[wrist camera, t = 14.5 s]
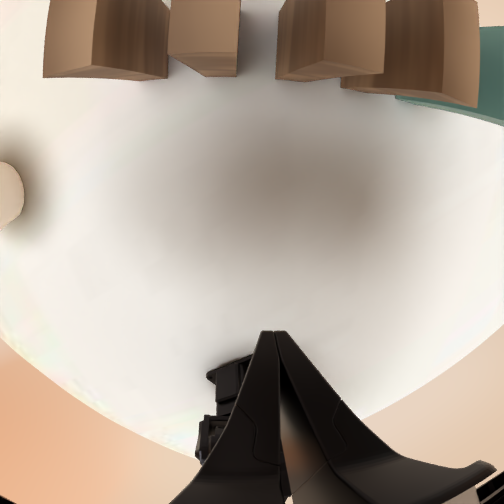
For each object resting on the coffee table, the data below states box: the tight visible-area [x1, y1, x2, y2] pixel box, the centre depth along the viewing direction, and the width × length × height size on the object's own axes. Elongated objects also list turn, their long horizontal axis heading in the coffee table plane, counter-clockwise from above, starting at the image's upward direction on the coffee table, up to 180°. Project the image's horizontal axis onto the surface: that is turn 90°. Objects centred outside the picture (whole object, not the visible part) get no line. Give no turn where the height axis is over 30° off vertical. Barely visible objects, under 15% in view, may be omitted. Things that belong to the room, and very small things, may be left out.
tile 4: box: [341, 0, 480, 108], centre depth 11 cm, size 2×5×11 cm, turn 177°
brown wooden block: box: [275, 0, 386, 82], centre depth 10 cm, size 2×5×11 cm, turn 177°
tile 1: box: [43, 0, 170, 81], centre depth 10 cm, size 2×5×11 cm, turn 177°
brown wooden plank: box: [167, 0, 241, 77], centre depth 10 cm, size 2×5×11 cm, turn 177°
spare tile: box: [395, 26, 504, 126], centre depth 11 cm, size 2×5×11 cm, turn 176°
